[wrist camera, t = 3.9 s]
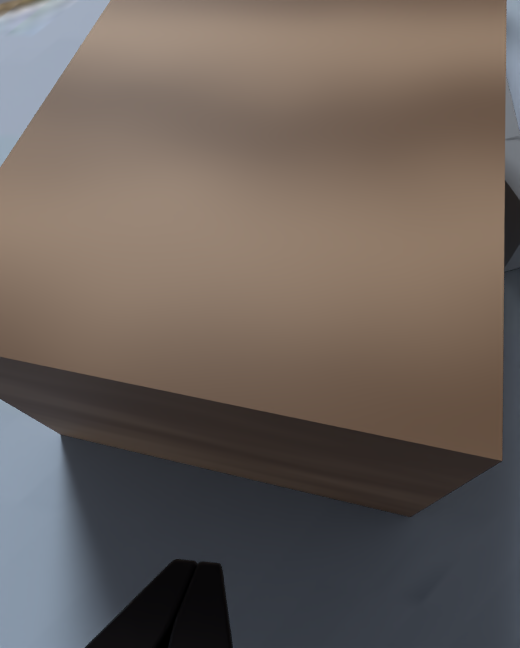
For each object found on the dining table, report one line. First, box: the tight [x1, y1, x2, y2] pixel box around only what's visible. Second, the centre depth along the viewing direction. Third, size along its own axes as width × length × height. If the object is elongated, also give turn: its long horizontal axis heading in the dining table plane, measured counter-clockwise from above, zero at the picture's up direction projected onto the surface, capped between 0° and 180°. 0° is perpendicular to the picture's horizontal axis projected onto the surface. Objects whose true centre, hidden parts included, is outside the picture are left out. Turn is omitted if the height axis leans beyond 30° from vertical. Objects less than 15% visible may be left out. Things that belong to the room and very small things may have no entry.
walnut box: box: [0, 0, 506, 517], centre depth 15 cm, size 14×12×8 cm
